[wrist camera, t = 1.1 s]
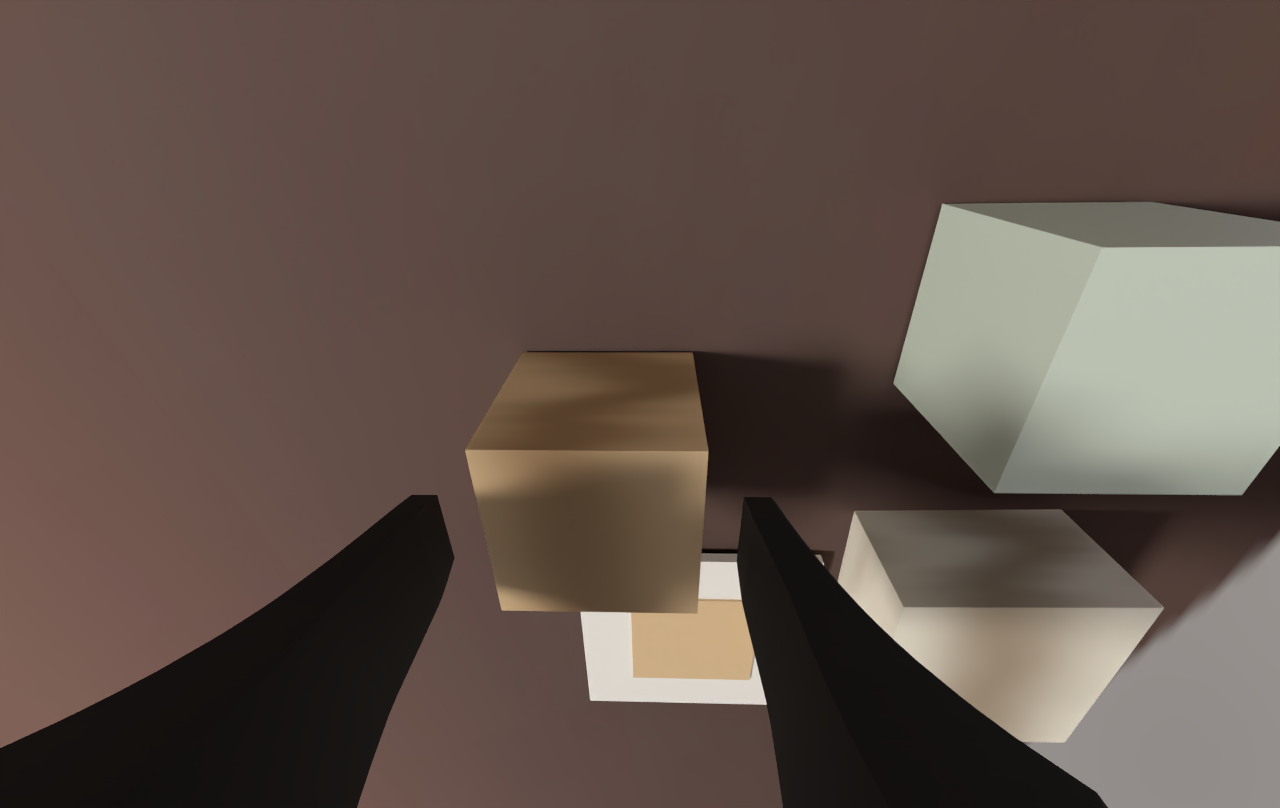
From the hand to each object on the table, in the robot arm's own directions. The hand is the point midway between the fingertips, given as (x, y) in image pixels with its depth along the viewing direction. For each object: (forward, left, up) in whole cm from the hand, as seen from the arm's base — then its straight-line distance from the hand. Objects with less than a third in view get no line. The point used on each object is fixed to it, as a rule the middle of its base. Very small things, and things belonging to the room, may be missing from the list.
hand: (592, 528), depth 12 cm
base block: (-12, +7, -5) cm, 15 cm away
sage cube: (-11, -4, -5) cm, 13 cm away
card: (-3, +10, -5) cm, 11 cm away
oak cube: (0, 0, -5) cm, 5 cm away
